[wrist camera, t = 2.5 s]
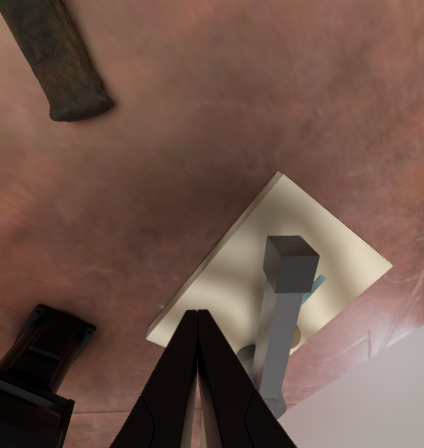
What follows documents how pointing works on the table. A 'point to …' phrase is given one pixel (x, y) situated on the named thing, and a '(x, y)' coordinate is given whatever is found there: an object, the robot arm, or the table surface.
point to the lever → (279, 315)
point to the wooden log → (56, 58)
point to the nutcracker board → (255, 277)
